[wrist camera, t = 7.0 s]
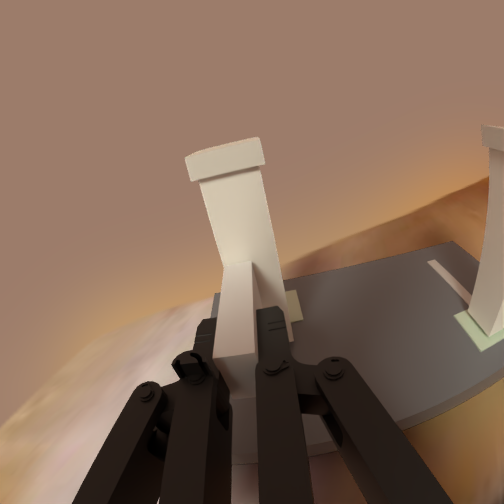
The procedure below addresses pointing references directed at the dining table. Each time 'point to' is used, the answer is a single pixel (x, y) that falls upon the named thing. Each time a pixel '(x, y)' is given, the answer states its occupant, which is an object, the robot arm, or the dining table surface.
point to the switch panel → (387, 338)
